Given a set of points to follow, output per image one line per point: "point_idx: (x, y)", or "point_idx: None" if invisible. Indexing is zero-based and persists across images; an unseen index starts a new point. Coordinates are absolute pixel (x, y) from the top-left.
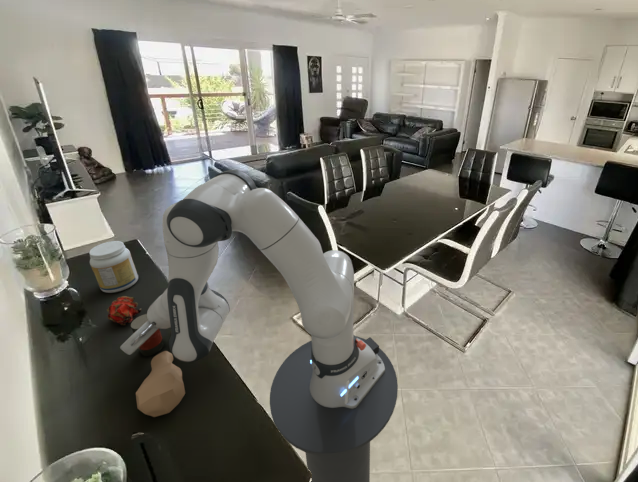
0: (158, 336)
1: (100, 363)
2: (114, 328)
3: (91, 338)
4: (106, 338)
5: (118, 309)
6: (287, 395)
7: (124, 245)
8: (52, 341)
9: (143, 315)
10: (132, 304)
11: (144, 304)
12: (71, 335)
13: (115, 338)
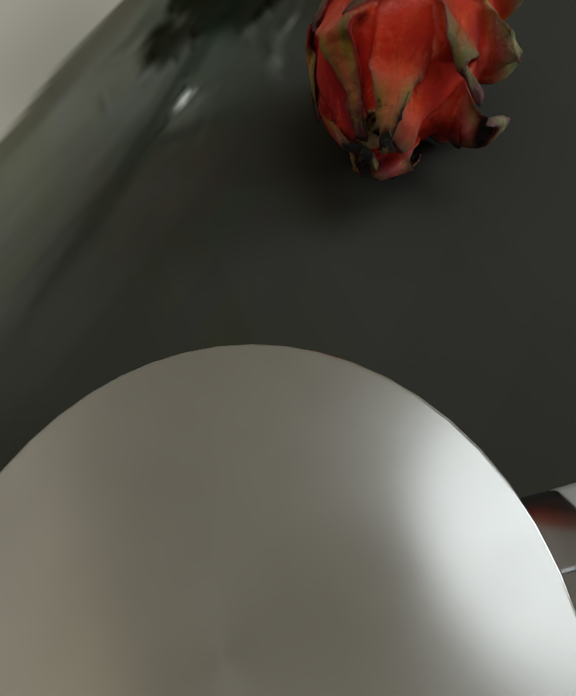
0: None
1: (68, 352)
2: (310, 151)
3: (204, 130)
4: (235, 188)
5: (370, 13)
6: None
7: None
8: (132, 34)
9: (383, 412)
10: (483, 38)
11: (545, 98)
12: (186, 52)
13: (256, 229)
